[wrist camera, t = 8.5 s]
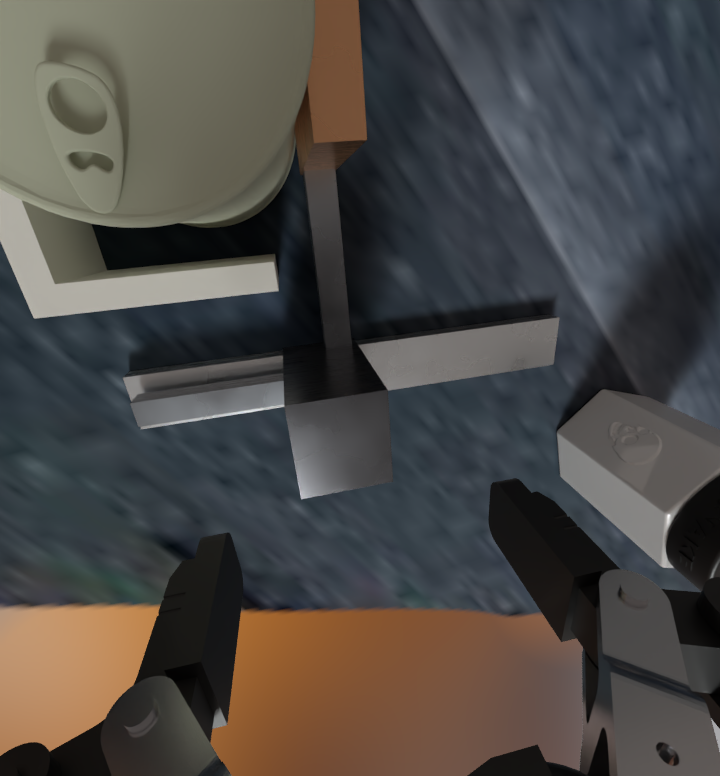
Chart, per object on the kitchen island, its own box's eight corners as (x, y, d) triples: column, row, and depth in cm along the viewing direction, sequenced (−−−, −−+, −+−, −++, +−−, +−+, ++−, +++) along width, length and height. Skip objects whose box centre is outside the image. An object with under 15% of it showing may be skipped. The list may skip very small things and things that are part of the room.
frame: (217, -97, 15) (191, -233, 11) (278, 276, 21) (278, 290, 16) (-57, -105, 14) (-220, -266, 9) (90, 297, 20) (33, 318, 15)
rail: (549, 314, 25) (559, 317, 24) (543, 359, 26) (553, 364, 26) (129, 371, 21) (122, 377, 21) (146, 421, 23) (141, 429, 22)
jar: (622, 364, 28) (840, 452, 17) (666, 424, 31) (873, 529, 20) (531, 449, 29) (679, 579, 19) (582, 497, 33) (733, 633, 22)
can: (95, 213, 18) (-171, 195, 7) (66, -44, 15) (-490, -747, 4) (289, 239, 20) (302, 255, 10) (303, 20, 17) (345, -337, 6)
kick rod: (324, 42, 17) (360, -98, 9) (358, 403, 24) (392, 481, 17) (21, 48, 15) (-219, -116, 8) (155, 436, 22) (96, 538, 15)
